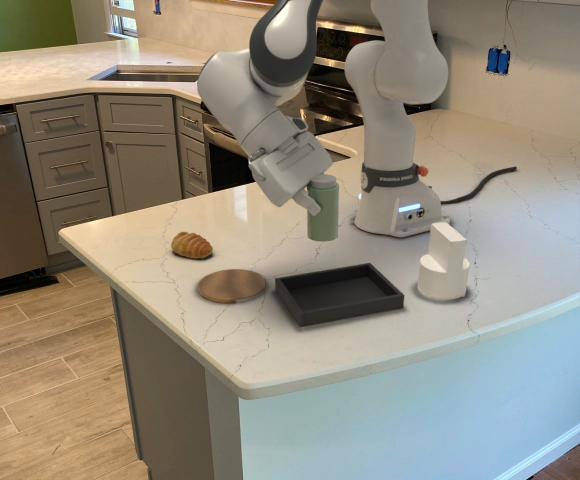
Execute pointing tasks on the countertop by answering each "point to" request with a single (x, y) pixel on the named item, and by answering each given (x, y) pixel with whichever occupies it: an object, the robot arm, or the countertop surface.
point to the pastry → (191, 245)
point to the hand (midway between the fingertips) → (326, 205)
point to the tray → (337, 294)
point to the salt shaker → (327, 219)
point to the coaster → (231, 285)
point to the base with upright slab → (444, 264)
